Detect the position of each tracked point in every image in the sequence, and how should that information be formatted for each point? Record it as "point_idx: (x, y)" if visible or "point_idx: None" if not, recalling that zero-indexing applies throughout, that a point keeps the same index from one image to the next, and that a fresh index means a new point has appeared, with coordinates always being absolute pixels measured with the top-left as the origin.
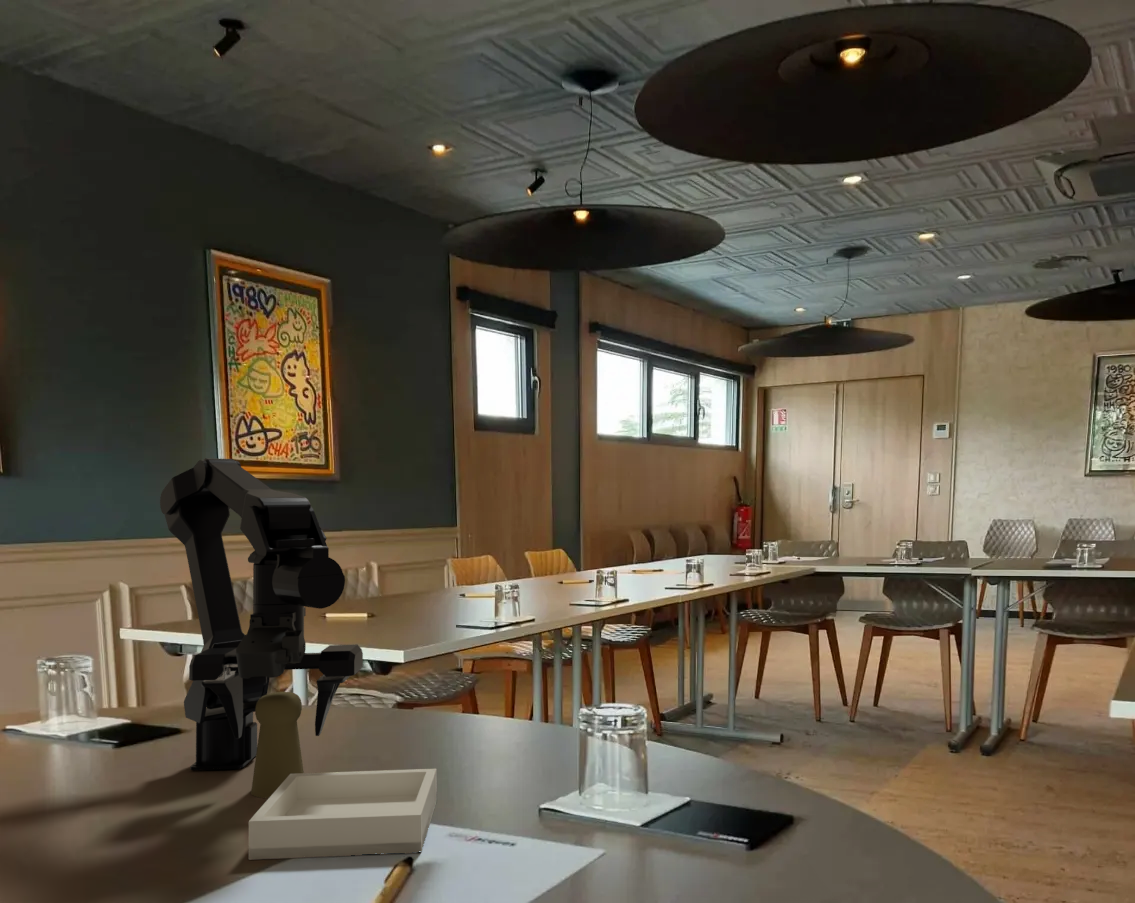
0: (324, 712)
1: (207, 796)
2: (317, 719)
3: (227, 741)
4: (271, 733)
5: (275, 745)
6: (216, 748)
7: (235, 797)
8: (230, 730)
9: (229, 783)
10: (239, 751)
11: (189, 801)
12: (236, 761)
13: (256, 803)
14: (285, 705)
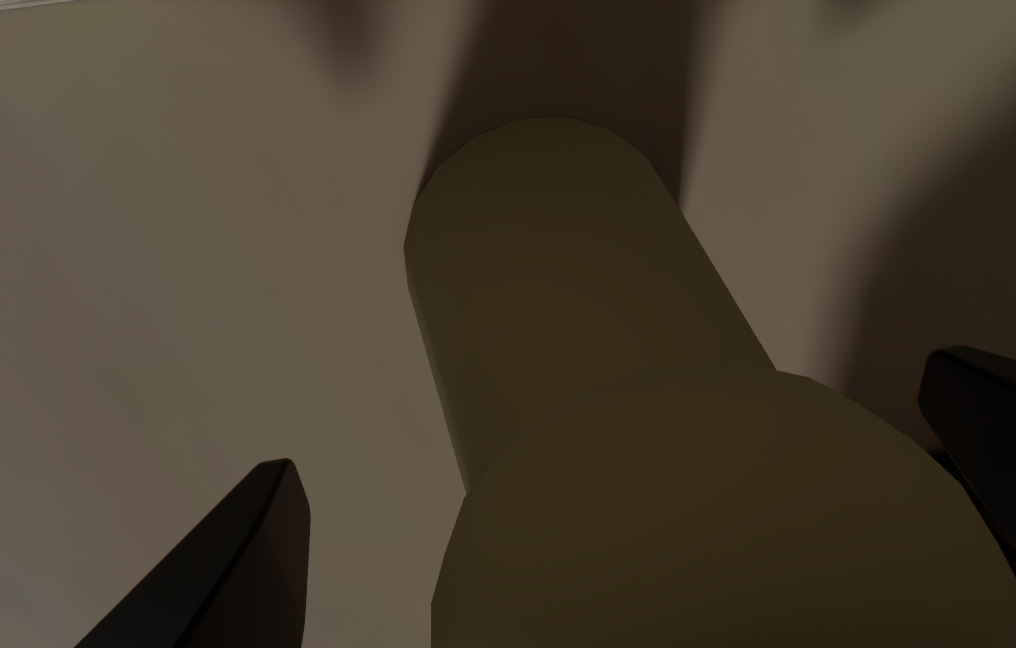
0: (92, 635)
1: (883, 134)
2: (213, 556)
3: None
4: (648, 320)
5: (577, 267)
6: None
7: (731, 123)
8: None
9: (816, 320)
10: None
11: (962, 50)
12: None
13: (579, 24)
14: (568, 580)
